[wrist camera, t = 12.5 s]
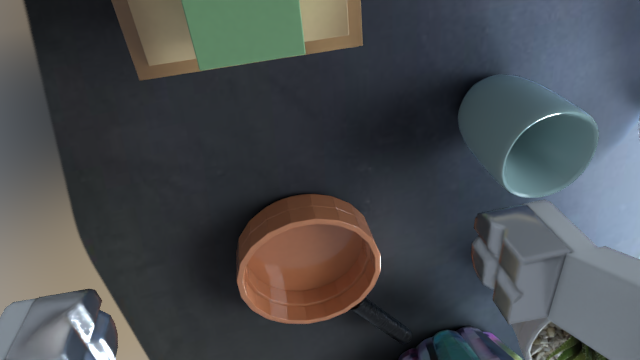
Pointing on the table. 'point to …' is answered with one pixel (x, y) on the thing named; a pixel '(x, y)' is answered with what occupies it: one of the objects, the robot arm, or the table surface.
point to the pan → (306, 259)
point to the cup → (526, 135)
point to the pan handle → (383, 321)
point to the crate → (176, 45)
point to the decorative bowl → (461, 347)
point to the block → (243, 31)
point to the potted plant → (551, 342)
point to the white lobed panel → (639, 127)
